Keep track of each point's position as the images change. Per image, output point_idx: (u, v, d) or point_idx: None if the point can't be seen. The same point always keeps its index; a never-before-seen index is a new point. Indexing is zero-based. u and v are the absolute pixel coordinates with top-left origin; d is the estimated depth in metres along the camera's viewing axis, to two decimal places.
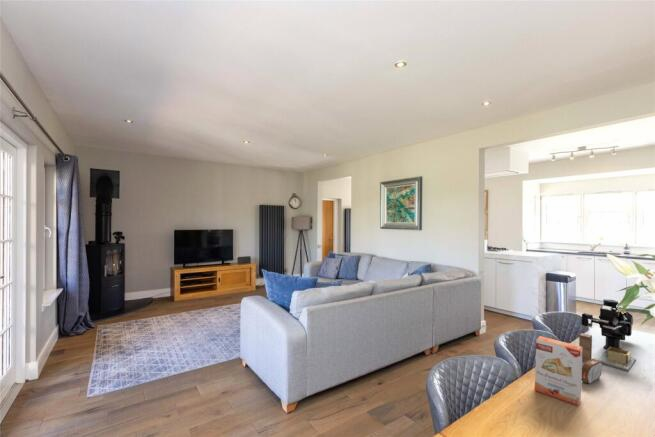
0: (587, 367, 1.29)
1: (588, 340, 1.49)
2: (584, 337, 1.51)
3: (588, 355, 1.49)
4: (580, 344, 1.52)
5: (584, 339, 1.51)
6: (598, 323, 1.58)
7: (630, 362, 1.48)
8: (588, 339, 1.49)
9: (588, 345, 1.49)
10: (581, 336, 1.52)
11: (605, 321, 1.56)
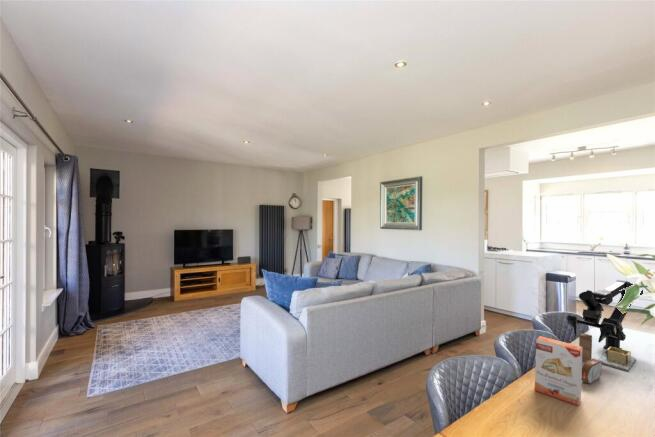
0: (588, 367, 1.29)
1: (588, 340, 1.49)
2: (584, 337, 1.51)
3: (588, 355, 1.49)
4: (580, 344, 1.52)
5: (584, 339, 1.51)
6: None
7: (630, 362, 1.48)
8: (588, 339, 1.49)
9: (588, 345, 1.49)
10: (581, 336, 1.52)
11: (589, 322, 1.57)
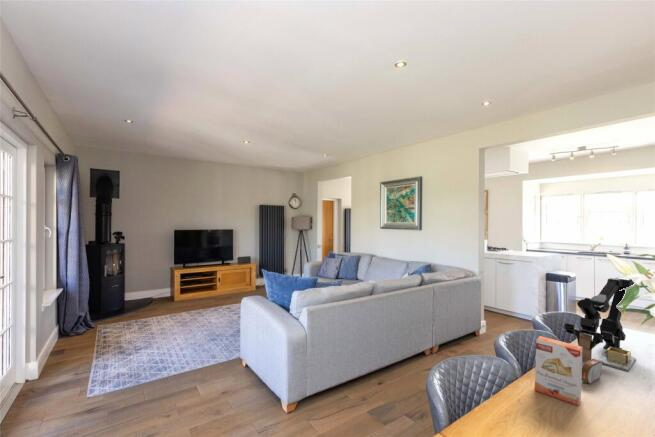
0: (588, 367, 1.29)
1: (588, 340, 1.49)
2: (584, 337, 1.51)
3: (588, 355, 1.49)
4: (580, 344, 1.52)
5: (584, 339, 1.51)
6: (581, 332, 1.57)
7: (630, 362, 1.48)
8: (588, 339, 1.49)
9: (588, 345, 1.49)
10: (581, 336, 1.52)
11: (587, 331, 1.54)
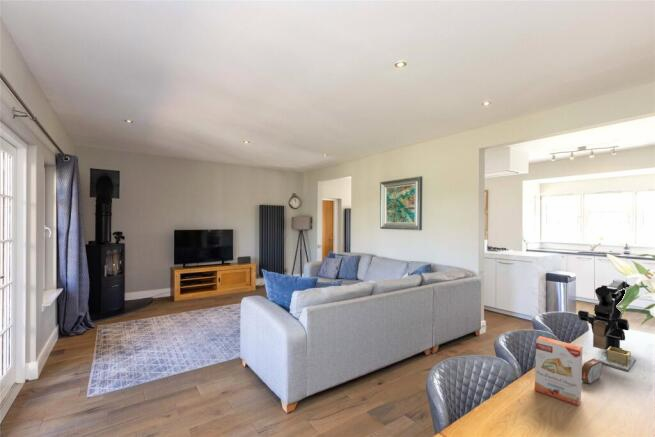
0: (587, 367, 1.29)
1: (602, 327, 1.50)
2: (598, 324, 1.51)
3: (602, 342, 1.50)
4: (594, 331, 1.52)
5: (598, 326, 1.51)
6: (595, 319, 1.57)
7: (630, 362, 1.48)
8: (602, 326, 1.50)
9: (602, 332, 1.50)
10: (595, 323, 1.52)
11: (601, 318, 1.54)
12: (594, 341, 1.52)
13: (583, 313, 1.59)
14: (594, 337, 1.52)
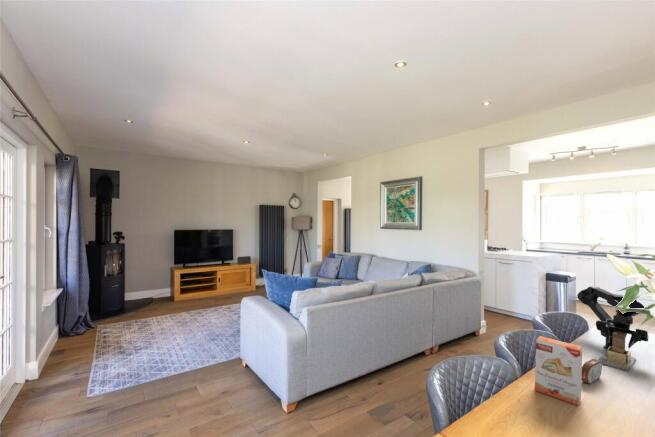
0: (588, 367, 1.29)
1: (622, 339, 1.50)
2: (618, 335, 1.51)
3: (622, 353, 1.50)
4: (613, 342, 1.52)
5: (617, 337, 1.51)
6: (613, 330, 1.57)
7: (630, 362, 1.48)
8: (622, 337, 1.50)
9: (622, 343, 1.50)
10: (614, 334, 1.52)
11: (620, 328, 1.54)
12: None
13: (601, 323, 1.59)
14: (613, 349, 1.52)
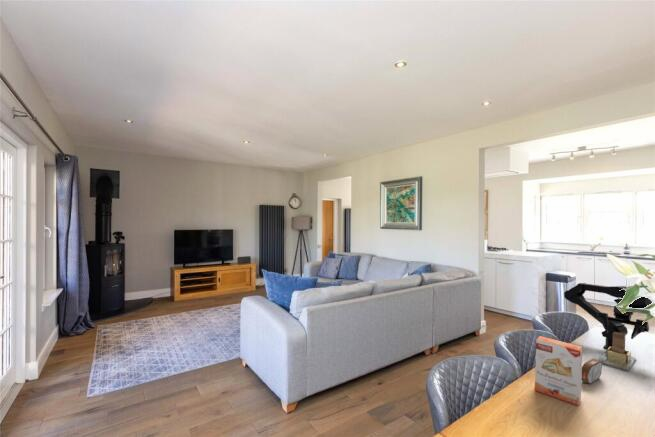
0: (587, 367, 1.29)
1: (622, 339, 1.50)
2: (618, 335, 1.51)
3: (622, 353, 1.50)
4: (613, 342, 1.52)
5: (617, 337, 1.51)
6: (615, 321, 1.59)
7: (630, 362, 1.48)
8: (622, 337, 1.50)
9: (622, 343, 1.50)
10: (614, 334, 1.52)
11: (621, 319, 1.57)
12: None
13: (602, 315, 1.61)
14: (613, 349, 1.52)
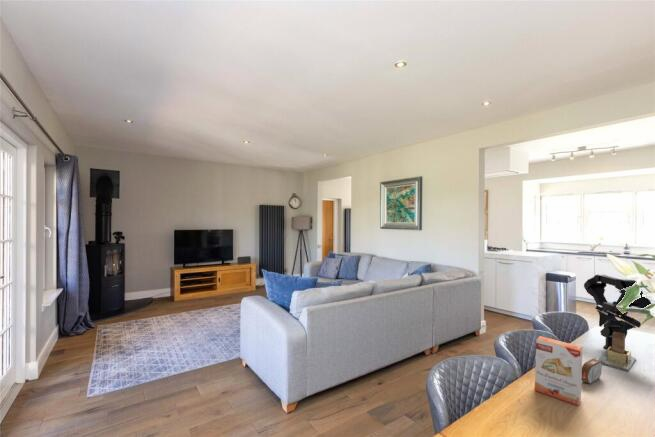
0: (587, 367, 1.29)
1: (621, 339, 1.49)
2: (617, 336, 1.50)
3: None
4: (613, 343, 1.52)
5: (617, 338, 1.50)
6: (611, 315, 1.60)
7: (630, 362, 1.48)
8: (622, 338, 1.49)
9: (622, 344, 1.49)
10: (614, 335, 1.51)
11: None
12: None
13: (598, 308, 1.64)
14: (613, 349, 1.52)
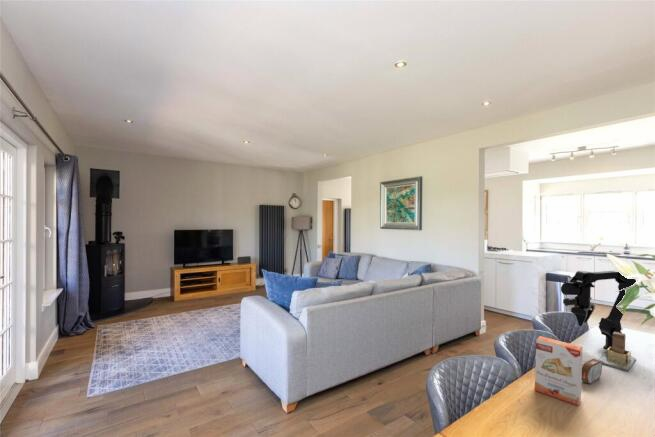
0: (588, 367, 1.29)
1: (622, 339, 1.50)
2: (618, 335, 1.51)
3: (622, 353, 1.50)
4: (613, 342, 1.52)
5: (617, 337, 1.51)
6: None
7: (630, 362, 1.48)
8: (622, 337, 1.50)
9: (622, 343, 1.50)
10: (614, 334, 1.52)
11: None
12: None
13: None
14: (613, 349, 1.52)
